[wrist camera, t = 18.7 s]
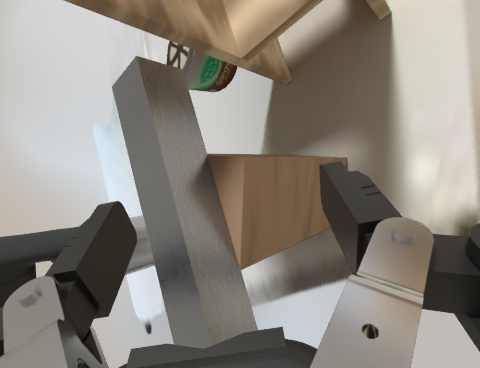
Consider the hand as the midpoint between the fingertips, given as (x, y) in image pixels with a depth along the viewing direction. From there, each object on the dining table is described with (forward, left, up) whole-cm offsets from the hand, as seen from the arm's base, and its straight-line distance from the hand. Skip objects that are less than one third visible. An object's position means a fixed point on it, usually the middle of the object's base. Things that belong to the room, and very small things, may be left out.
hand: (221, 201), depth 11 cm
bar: (-8, -3, -7) cm, 11 cm away
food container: (-24, +15, -26) cm, 39 cm away
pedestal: (-8, -2, -26) cm, 28 cm away
